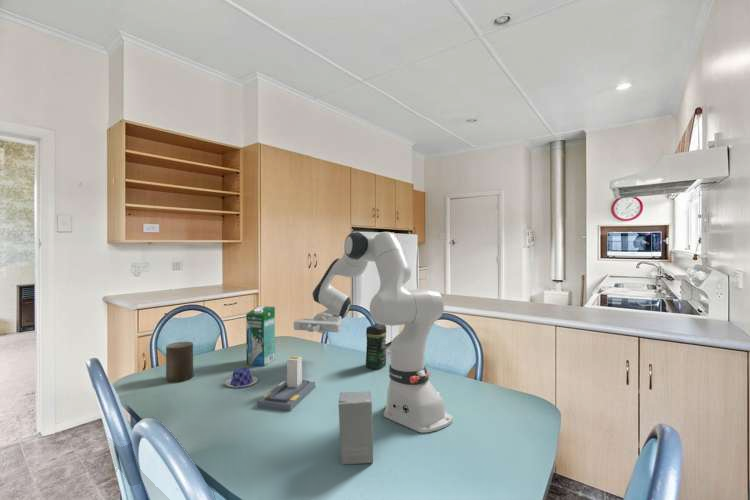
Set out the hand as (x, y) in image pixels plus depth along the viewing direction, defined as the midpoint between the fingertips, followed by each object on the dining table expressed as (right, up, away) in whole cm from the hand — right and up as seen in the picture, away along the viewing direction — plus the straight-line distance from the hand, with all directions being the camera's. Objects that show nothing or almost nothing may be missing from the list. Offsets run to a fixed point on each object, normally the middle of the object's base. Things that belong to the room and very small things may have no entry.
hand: (310, 329), depth 146 cm
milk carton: (-26, -19, +19) cm, 38 cm away
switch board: (-4, -20, -18) cm, 27 cm away
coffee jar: (+27, -19, +14) cm, 36 cm away
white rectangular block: (-3, -17, -14) cm, 22 cm away
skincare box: (+22, -20, -55) cm, 63 cm away
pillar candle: (-52, -20, -1) cm, 56 cm away
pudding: (-26, -20, -5) cm, 33 cm away
